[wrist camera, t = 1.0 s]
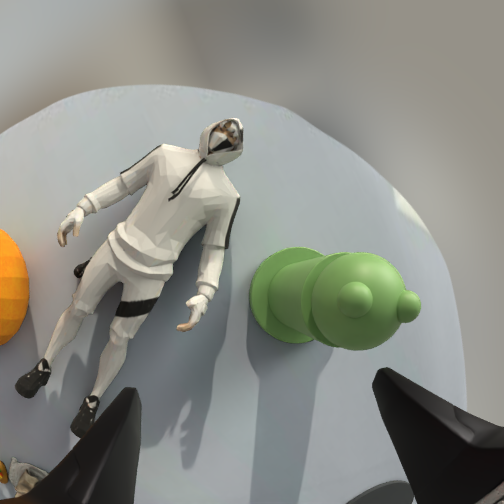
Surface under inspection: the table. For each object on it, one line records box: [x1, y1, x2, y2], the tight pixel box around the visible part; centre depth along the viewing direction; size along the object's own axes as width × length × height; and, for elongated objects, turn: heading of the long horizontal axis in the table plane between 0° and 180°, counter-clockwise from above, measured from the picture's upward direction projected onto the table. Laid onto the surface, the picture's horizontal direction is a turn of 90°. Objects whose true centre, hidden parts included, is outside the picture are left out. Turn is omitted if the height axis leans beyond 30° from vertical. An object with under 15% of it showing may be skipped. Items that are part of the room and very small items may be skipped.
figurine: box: [15, 118, 243, 438], centre depth 21 cm, size 13×6×30 cm
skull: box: [8, 457, 48, 497], centre depth 16 cm, size 10×12×6 cm
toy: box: [249, 247, 421, 350], centre depth 19 cm, size 8×8×15 cm
